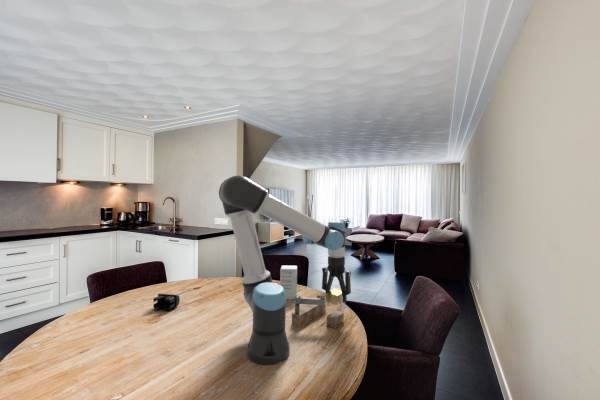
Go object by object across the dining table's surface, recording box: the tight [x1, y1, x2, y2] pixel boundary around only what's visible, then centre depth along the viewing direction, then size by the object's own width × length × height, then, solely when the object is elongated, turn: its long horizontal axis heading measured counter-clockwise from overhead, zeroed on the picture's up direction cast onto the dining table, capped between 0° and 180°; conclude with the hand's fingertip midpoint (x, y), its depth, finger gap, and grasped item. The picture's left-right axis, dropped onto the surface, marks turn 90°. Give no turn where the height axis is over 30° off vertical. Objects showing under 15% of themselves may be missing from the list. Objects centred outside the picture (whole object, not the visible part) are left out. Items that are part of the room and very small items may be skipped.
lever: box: [293, 295, 326, 307], centre depth 122 cm, size 14×3×4 cm, turn 83°
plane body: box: [291, 293, 327, 328], centre depth 130 cm, size 22×4×9 cm, turn 144°
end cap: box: [152, 293, 181, 313], centre depth 138 cm, size 10×7×7 cm
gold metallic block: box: [325, 288, 342, 306], centre depth 125 cm, size 8×6×4 cm
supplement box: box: [279, 264, 298, 300], centre depth 158 cm, size 10×9×17 cm
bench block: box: [326, 310, 345, 328], centre depth 125 cm, size 8×4×4 cm, turn 144°
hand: (335, 307), depth 125 cm, fingers closed on gold metallic block, 6 cm apart
